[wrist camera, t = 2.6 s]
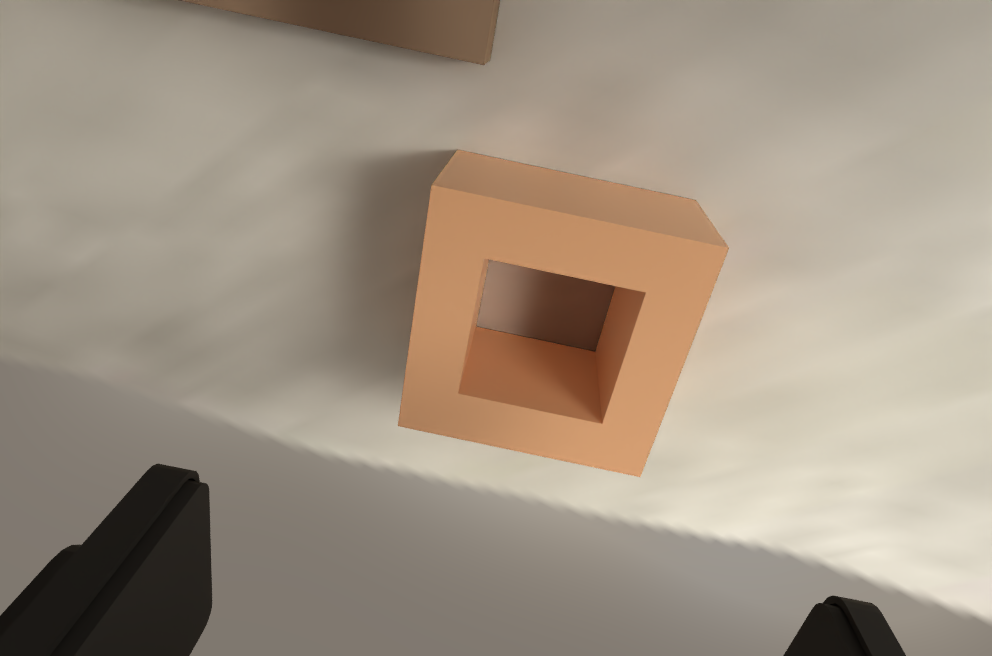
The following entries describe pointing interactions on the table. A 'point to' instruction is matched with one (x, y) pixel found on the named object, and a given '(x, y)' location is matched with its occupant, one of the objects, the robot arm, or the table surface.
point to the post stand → (388, 21)
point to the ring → (545, 365)
